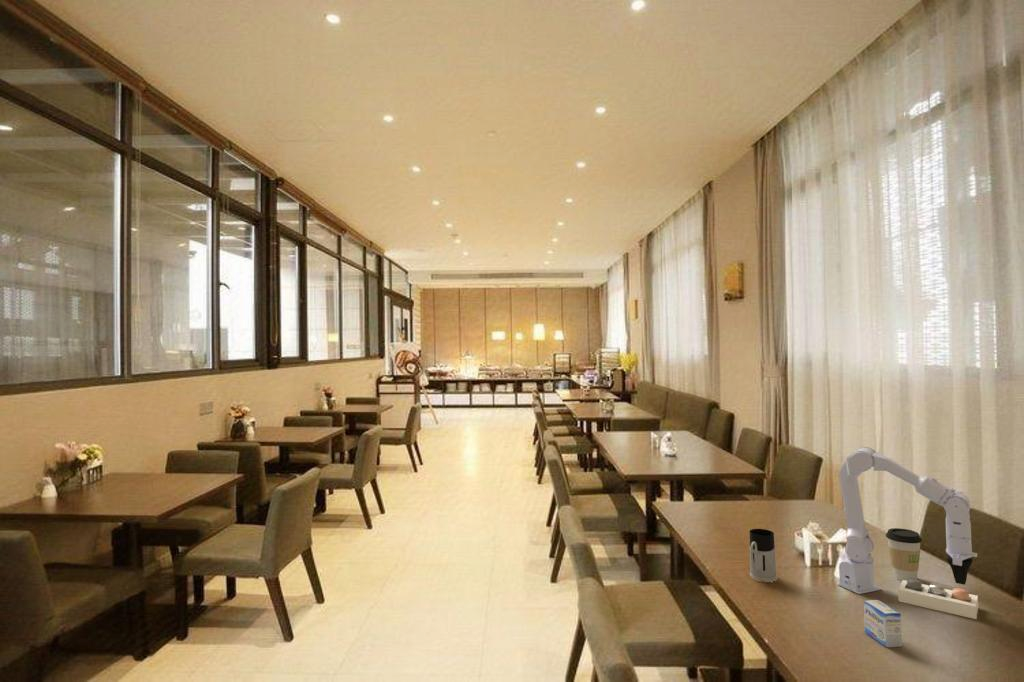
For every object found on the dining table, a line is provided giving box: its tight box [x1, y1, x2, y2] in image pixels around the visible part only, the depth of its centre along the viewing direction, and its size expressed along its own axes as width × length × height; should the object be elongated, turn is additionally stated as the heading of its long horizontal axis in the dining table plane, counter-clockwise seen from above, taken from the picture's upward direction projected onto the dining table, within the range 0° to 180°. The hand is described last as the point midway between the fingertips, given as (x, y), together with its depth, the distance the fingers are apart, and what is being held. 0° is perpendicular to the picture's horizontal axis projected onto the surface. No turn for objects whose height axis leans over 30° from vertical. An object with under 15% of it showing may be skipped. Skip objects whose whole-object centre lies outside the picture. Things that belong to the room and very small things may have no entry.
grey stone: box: [907, 578, 923, 592], centre depth 169 cm, size 4×4×3 cm
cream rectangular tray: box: [897, 580, 979, 620], centre depth 165 cm, size 18×9×4 cm, turn 48°
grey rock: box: [929, 582, 946, 597], centre depth 165 cm, size 4×4×3 cm
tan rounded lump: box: [952, 587, 970, 602], centre depth 161 cm, size 4×4×3 cm
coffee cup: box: [885, 527, 923, 582], centre depth 184 cm, size 10×10×15 cm
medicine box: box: [863, 599, 903, 649], centre depth 147 cm, size 8×4×9 cm, turn 5°
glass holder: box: [749, 528, 778, 583], centre depth 186 cm, size 9×14×15 cm, turn 137°
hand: (960, 583), depth 161 cm, fingers closed
